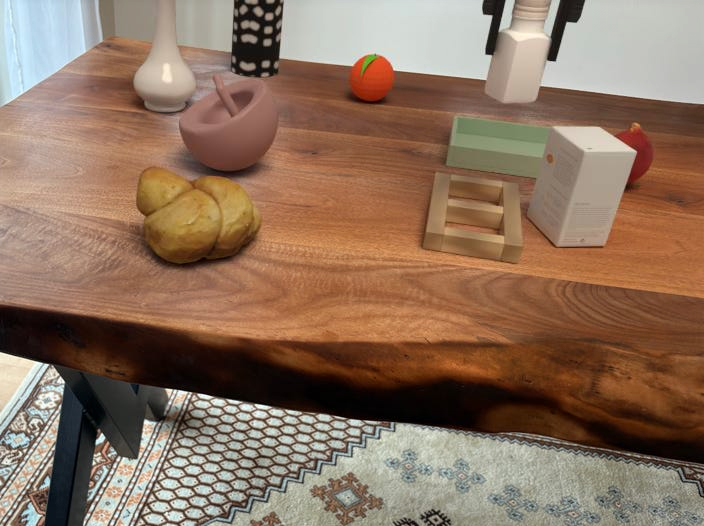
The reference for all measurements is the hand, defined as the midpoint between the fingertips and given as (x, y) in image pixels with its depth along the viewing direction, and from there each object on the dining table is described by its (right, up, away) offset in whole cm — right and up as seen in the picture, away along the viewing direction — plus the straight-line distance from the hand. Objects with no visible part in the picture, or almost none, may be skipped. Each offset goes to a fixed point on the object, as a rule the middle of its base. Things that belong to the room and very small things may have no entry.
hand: (519, 54), depth 74 cm
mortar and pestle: (-28, -6, +22) cm, 36 cm away
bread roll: (-31, -18, +4) cm, 36 cm away
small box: (+9, -16, +11) cm, 21 cm away
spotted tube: (-23, +21, +60) cm, 68 cm away
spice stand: (-1, -14, +12) cm, 18 cm away
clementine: (-6, +11, +48) cm, 50 cm away
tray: (+9, -2, +29) cm, 31 cm away
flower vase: (-37, +9, +42) cm, 56 cm away
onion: (+21, -8, +22) cm, 31 cm away
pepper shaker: (0, -4, +3) cm, 4 cm away
